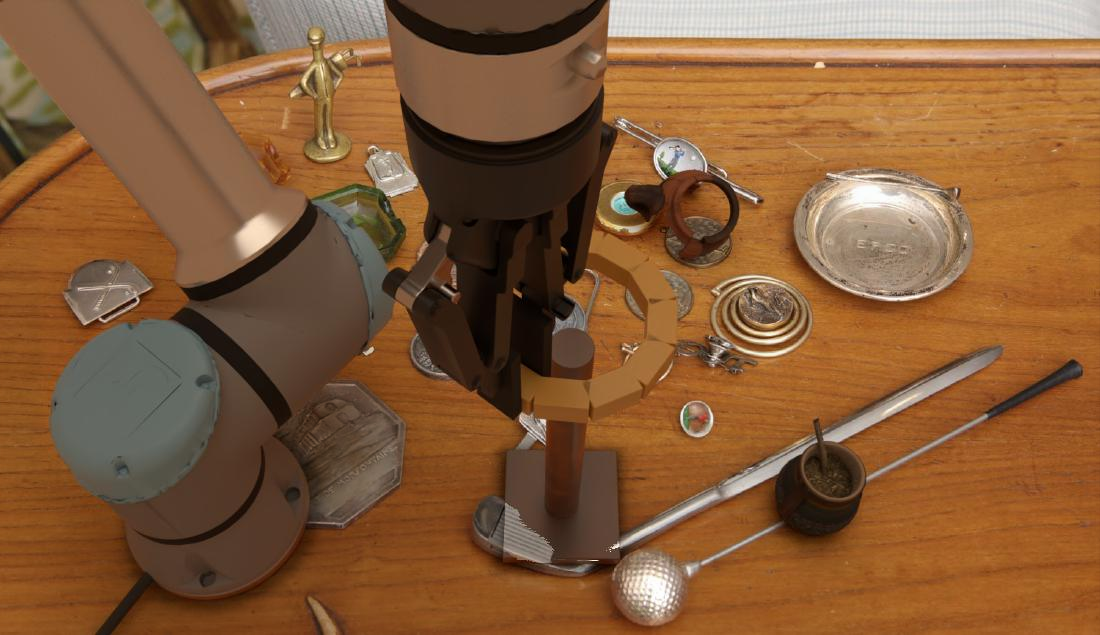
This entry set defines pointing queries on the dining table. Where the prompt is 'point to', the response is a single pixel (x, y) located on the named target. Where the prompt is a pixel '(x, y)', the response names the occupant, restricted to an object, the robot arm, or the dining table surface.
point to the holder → (567, 476)
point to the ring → (641, 368)
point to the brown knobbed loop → (671, 192)
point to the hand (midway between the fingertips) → (514, 386)
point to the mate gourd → (820, 487)
